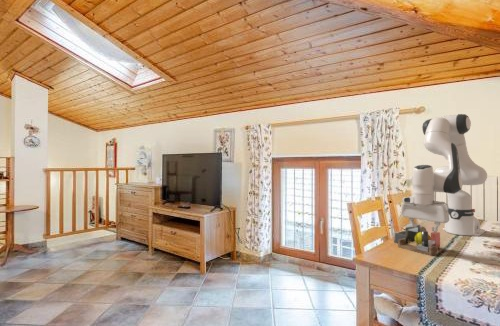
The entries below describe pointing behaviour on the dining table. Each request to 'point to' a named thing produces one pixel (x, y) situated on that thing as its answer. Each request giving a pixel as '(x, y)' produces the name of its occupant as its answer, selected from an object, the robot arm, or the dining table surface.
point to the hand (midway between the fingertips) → (424, 229)
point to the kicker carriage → (429, 241)
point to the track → (414, 248)
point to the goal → (406, 234)
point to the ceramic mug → (416, 228)
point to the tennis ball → (420, 238)
